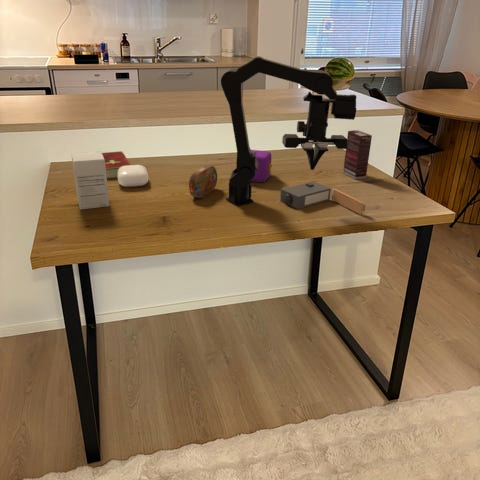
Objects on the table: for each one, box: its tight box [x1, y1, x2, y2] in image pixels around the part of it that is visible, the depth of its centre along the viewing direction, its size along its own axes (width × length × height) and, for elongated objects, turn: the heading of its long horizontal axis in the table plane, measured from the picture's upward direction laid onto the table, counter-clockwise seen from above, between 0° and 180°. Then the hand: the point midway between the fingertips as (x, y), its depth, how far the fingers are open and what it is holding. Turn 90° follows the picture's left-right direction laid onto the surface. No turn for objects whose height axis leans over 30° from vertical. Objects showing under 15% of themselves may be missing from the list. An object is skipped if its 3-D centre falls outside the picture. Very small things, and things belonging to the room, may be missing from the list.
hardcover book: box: [101, 150, 132, 179], centre depth 178 cm, size 12×21×4 cm, turn 22°
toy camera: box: [250, 149, 273, 183], centre depth 171 cm, size 11×14×10 cm
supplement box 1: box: [71, 151, 110, 210], centre depth 144 cm, size 9×9×15 cm
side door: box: [331, 188, 366, 215], centre depth 148 cm, size 14×2×4 cm, turn 28°
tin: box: [188, 165, 218, 199], centre depth 155 cm, size 15×3×8 cm, turn 155°
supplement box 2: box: [342, 129, 373, 180], centre depth 174 cm, size 9×5×16 cm, turn 22°
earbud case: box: [116, 164, 149, 188], centre depth 164 cm, size 10×13×5 cm
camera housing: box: [279, 181, 332, 210], centre depth 152 cm, size 15×8×4 cm, turn 126°
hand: (311, 169), depth 145 cm, fingers closed
